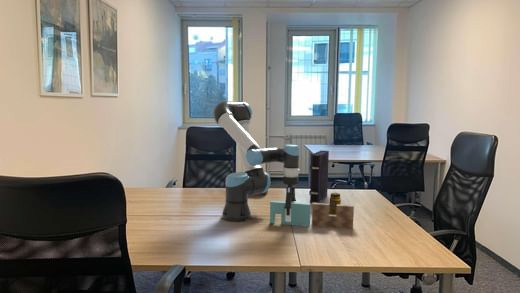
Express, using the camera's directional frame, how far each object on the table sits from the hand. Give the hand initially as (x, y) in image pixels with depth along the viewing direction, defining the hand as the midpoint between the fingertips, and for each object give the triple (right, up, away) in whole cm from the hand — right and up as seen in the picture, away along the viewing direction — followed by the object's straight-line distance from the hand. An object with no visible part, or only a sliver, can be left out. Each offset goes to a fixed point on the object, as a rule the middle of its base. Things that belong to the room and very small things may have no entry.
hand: (290, 217), depth 192 cm
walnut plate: (+21, -4, -2) cm, 21 cm away
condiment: (+25, -2, +17) cm, 31 cm away
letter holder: (-20, +4, +67) cm, 70 cm away
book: (+23, +2, +54) cm, 58 cm away
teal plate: (0, -3, 0) cm, 3 cm away
